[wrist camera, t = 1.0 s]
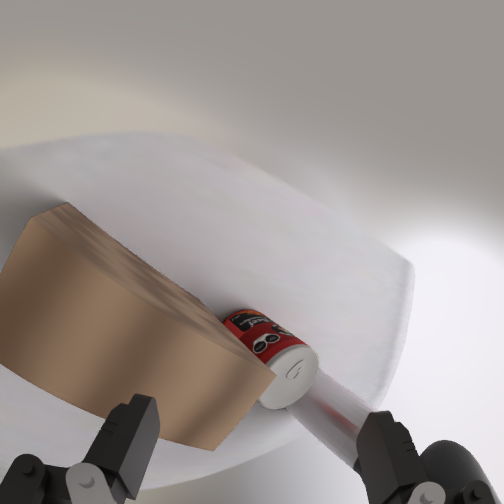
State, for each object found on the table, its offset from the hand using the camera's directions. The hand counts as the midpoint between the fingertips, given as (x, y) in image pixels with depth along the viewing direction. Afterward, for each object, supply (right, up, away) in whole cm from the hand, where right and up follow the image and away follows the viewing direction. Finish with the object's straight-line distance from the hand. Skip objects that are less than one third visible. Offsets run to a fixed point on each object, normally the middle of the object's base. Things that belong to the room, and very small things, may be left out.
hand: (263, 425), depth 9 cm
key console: (-15, +3, +18) cm, 24 cm away
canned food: (-2, -4, +28) cm, 28 cm away
